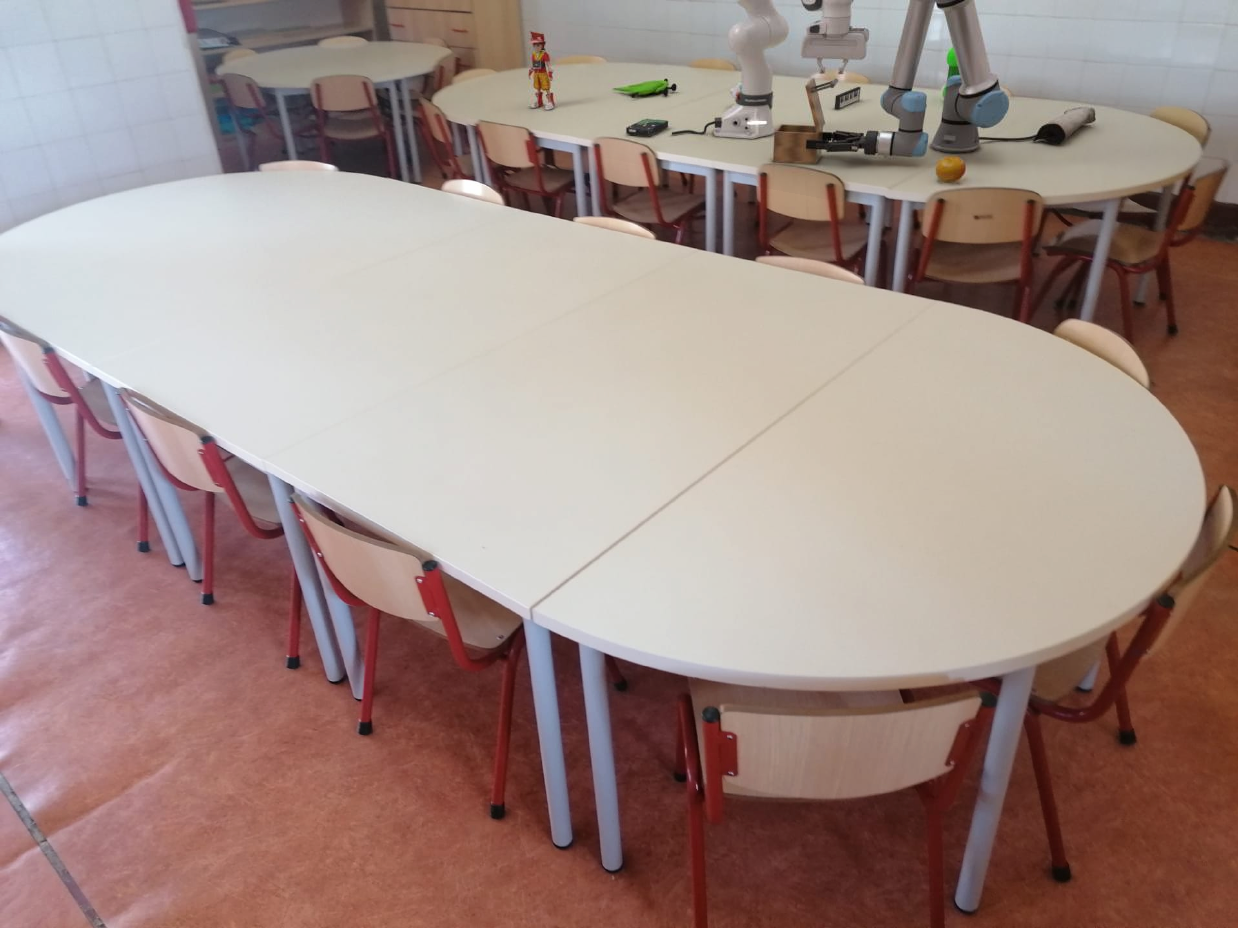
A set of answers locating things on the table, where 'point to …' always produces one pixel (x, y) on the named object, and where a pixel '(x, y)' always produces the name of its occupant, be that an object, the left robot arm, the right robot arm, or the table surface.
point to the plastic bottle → (951, 66)
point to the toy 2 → (648, 88)
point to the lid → (817, 101)
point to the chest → (796, 144)
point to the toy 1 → (541, 71)
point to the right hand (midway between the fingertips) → (809, 140)
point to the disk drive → (647, 127)
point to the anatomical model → (735, 89)
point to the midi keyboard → (847, 97)
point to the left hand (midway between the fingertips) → (831, 73)
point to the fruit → (950, 169)
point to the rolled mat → (1065, 125)
